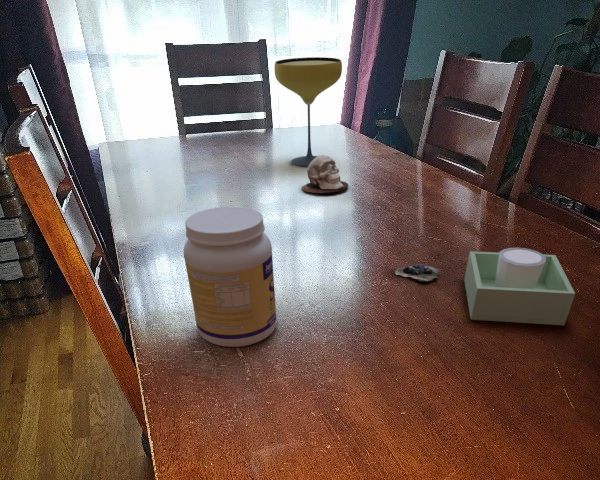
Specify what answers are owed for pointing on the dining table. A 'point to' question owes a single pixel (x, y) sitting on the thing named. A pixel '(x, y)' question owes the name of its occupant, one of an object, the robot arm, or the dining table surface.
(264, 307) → the supplement tub
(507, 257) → the white cylinder
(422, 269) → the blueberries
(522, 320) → the bin
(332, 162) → the skull
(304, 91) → the cocktail glass
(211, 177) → the dining table surface
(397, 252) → the dining table surface
